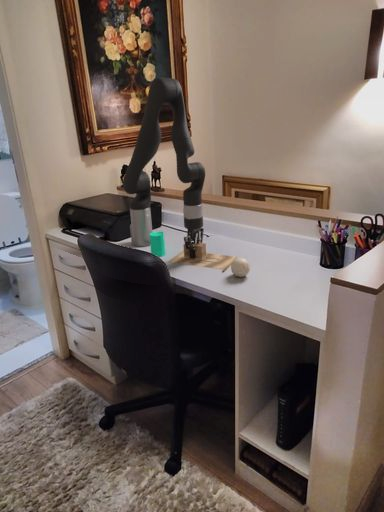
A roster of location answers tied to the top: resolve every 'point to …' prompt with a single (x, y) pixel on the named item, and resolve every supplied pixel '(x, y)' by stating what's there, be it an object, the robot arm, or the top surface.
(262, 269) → the top surface
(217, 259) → the board
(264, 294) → the top surface
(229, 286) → the top surface
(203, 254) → the block
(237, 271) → the baseball
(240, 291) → the top surface
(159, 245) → the candle
